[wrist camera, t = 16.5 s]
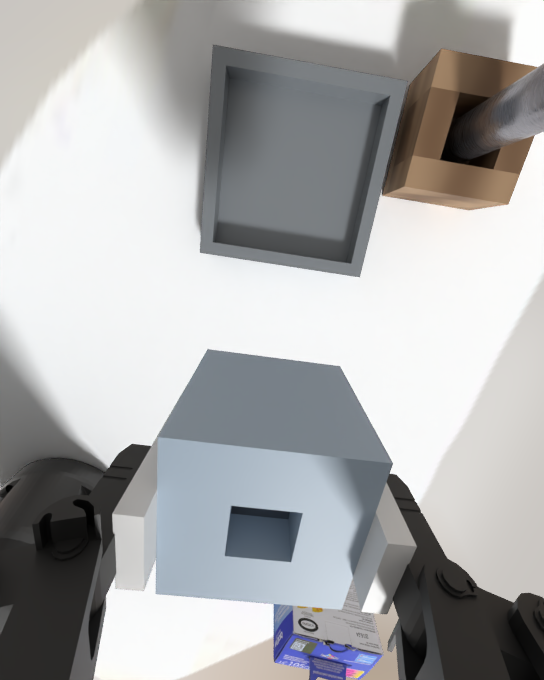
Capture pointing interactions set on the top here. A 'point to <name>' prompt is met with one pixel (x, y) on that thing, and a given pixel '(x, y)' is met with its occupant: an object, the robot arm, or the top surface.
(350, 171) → the tray
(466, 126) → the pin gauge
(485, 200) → the go block
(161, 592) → the block
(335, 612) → the ink cartridge box
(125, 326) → the top surface
